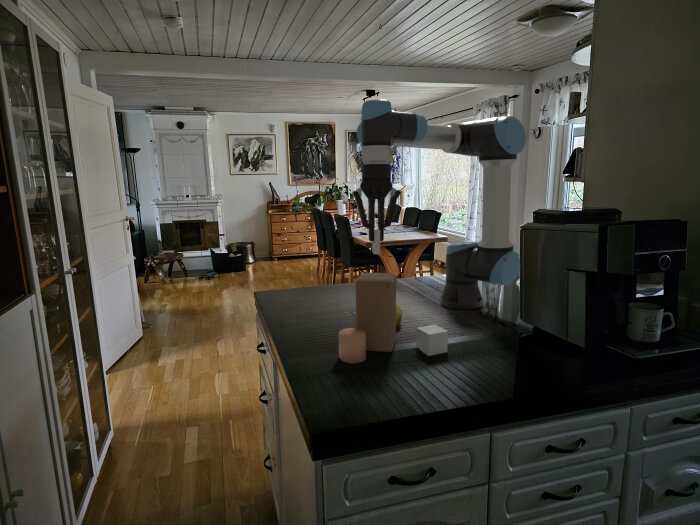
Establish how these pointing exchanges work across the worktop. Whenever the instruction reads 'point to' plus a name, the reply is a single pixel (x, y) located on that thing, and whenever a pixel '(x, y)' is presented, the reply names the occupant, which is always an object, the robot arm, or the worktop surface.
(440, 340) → the grey plastic cube
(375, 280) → the wooden block
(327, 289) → the worktop surface
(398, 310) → the bread roll
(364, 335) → the peach round cylinder
